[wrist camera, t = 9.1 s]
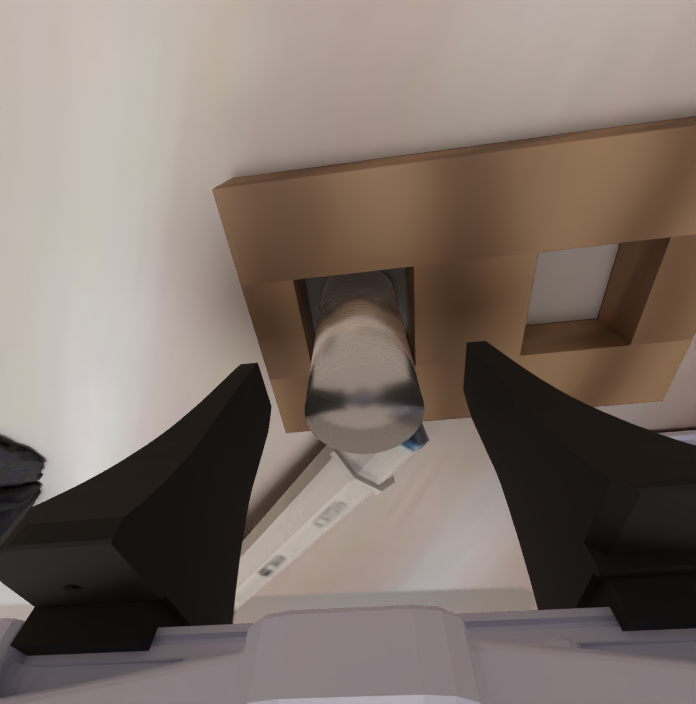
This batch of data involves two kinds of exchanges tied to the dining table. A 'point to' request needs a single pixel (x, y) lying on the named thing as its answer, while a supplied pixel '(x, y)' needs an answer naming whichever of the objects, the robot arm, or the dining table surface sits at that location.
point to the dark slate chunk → (17, 486)
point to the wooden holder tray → (483, 257)
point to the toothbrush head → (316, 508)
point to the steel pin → (362, 368)
